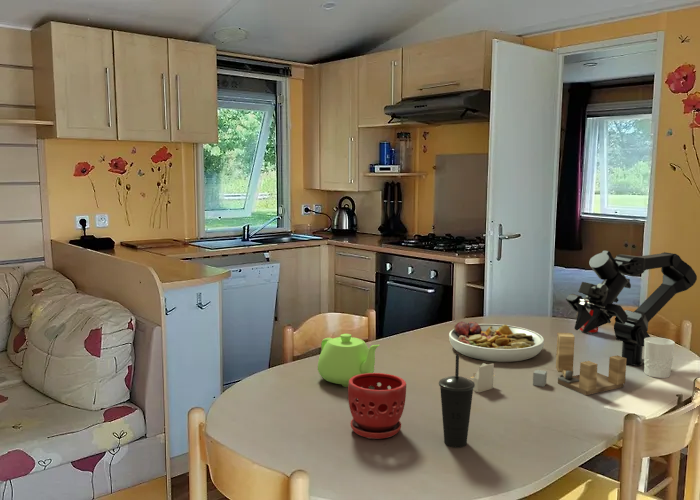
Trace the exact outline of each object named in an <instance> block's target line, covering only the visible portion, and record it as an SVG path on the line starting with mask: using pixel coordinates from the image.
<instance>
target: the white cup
mask: <svg viewBox="0 0 700 500" xmlns="http://www.w3.org/2000/svg"><path fill="white" fill-rule="evenodd" d="M675 344H676V343H675V341H674V340H672V339H669V338H665V337H658V336H650V337H648V338H645V339H644V346H643V359H644V363H643V364H644V365H643V372H644V374H645V375H647V376H649V377H651V378H656V379H657V378H659V379H666V378H670V377H671V372H672V367H673V361H674V351H675V346H676V345H675Z"/></svg>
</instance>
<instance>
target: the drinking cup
mask: <svg viewBox="0 0 700 500" xmlns="http://www.w3.org/2000/svg"><path fill="white" fill-rule="evenodd" d="M459 364H460V353H455V369H454V370H455V372H454V373H455V375H451V376H447V377H443V378H441V379H439V381H438V386H439V387H440V388H439V389H440V399H441V400H440V401H441V403H440V404H441V416H442V427H443V439H444V441H443V442H444V444H445V445H446V446H448V447H452V448H463V447H465V446H466V445H467V443H468V433H469V427H470V426H469V425H470V420H471V419H470V418H471V409H472V404H473V403H472V401H473V394H474V391H473V388H474V387H475V384H474V382H473V380H472V379H470V378H468V377H465V376H461V375H459V371H460V369H459V368H460V366H459Z"/></svg>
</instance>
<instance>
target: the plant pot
mask: <svg viewBox="0 0 700 500" xmlns="http://www.w3.org/2000/svg"><path fill="white" fill-rule="evenodd" d="M378 384H380V385H378ZM370 387H373V389H371V388H370ZM388 387H390V389H389V388H388ZM347 388H348V389H347V394H348V395H347V398H348V399H347V401H348V408H349V411H350V414H351V416H352V419H351V420H350V422H349V423H350V427H351V429H352V431H353V432H354V433H355V434H357V435H359V436H361V437H364V438H366V439H368V440H369V439H373V440H375V439H379V440H380V439H381V440H382V439H387V438H391V437H393V436H395V435H396V434H398V433H399V432H400V430H401V428H402V423H401V421H400V419H401V418H402V416H403V413H404V410H405V404H406V396H407V382H406V381H405V379H403V378H402V377H400V376H398V375H394V374H388V373H381V372H373V373H365V374H359V375H356V376H353V377H352V378H350V380H349V384H348V387H347Z"/></svg>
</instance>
